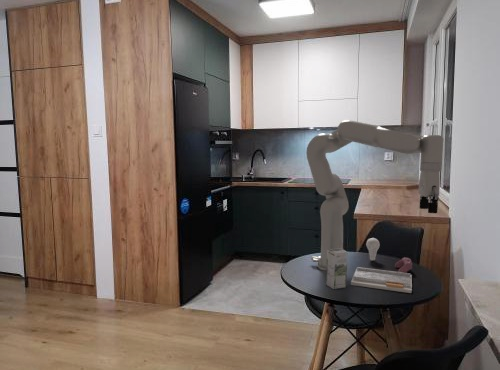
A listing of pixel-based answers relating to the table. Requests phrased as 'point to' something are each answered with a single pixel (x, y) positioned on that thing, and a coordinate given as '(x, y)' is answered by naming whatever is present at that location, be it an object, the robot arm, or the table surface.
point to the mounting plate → (384, 285)
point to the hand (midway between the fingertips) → (428, 210)
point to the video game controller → (404, 265)
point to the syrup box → (336, 268)
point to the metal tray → (382, 276)
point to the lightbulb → (372, 247)
